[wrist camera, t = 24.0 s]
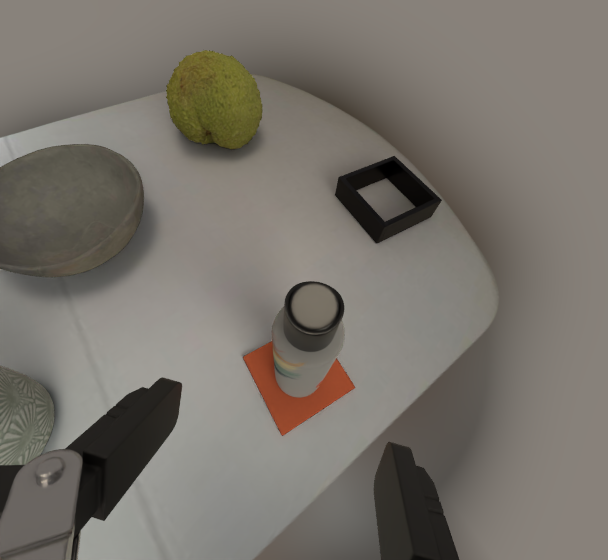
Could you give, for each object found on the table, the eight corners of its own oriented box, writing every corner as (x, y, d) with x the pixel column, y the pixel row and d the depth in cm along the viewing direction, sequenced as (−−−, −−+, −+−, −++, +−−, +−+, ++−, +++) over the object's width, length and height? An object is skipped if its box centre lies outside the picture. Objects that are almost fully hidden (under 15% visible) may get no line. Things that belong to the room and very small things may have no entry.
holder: (431, 217, 51) (442, 200, 47) (376, 243, 47) (384, 227, 43) (387, 174, 55) (394, 155, 52) (334, 195, 52) (338, 176, 48)
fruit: (181, 171, 52) (129, 70, 43) (205, 149, 63) (167, 65, 54) (268, 146, 49) (231, 32, 40) (276, 128, 60) (249, 35, 51)
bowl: (189, 240, 45) (173, 202, 38) (45, 331, 37) (-10, 303, 30) (119, 168, 51) (94, 125, 45) (-16, 231, 43) (-73, 189, 36)
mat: (354, 388, 36) (355, 387, 35) (282, 435, 33) (282, 435, 32) (311, 320, 40) (311, 319, 39) (243, 358, 37) (242, 356, 36)
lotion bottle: (325, 356, 37) (365, 274, 20) (317, 403, 34) (354, 357, 17) (281, 345, 37) (282, 256, 20) (269, 391, 34) (257, 334, 17)
